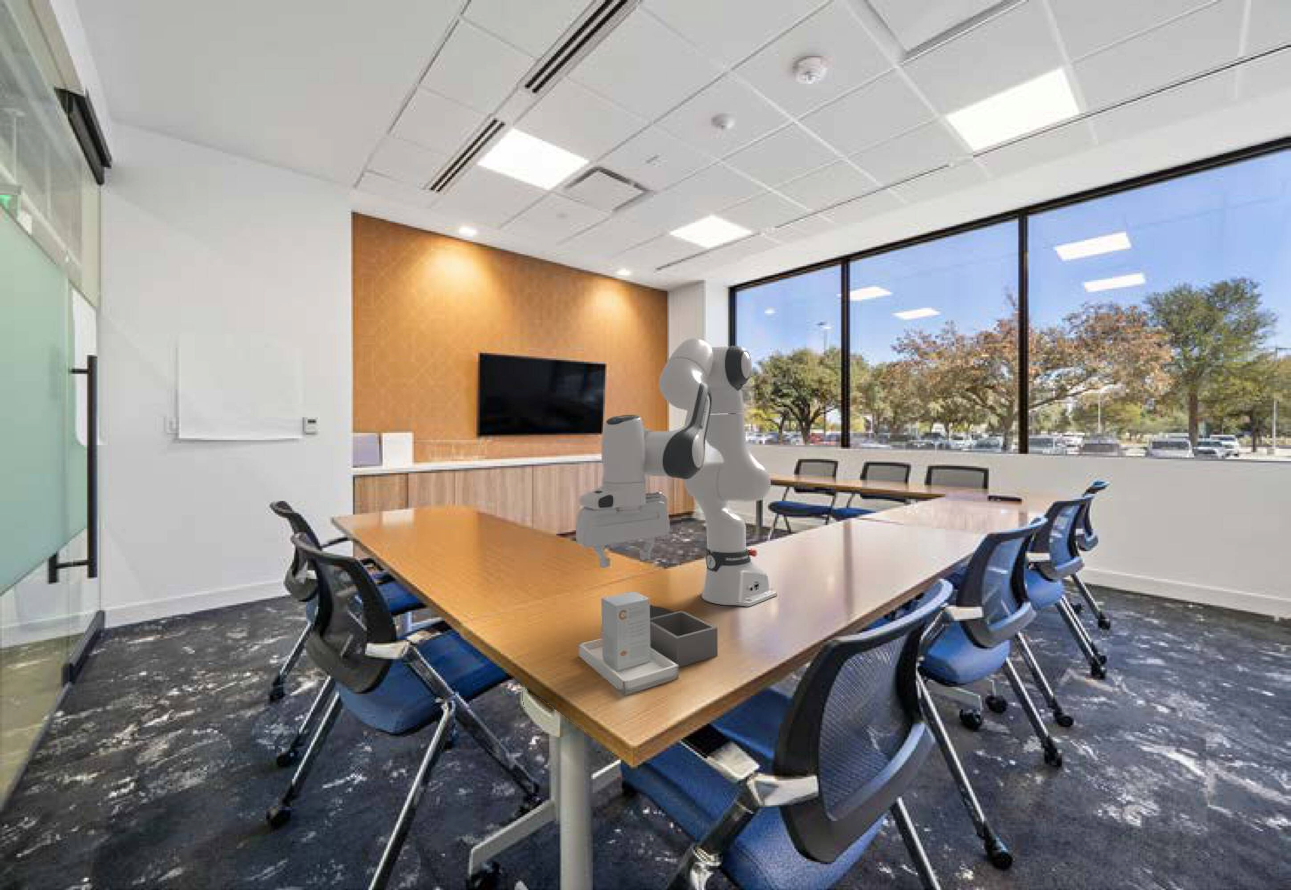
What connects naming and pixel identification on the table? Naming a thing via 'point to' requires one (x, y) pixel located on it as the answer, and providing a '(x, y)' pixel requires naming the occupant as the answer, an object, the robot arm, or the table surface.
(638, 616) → the small box
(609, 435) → the robot arm
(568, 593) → the table surface
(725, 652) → the table surface
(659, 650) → the box
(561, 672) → the table surface
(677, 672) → the tray
